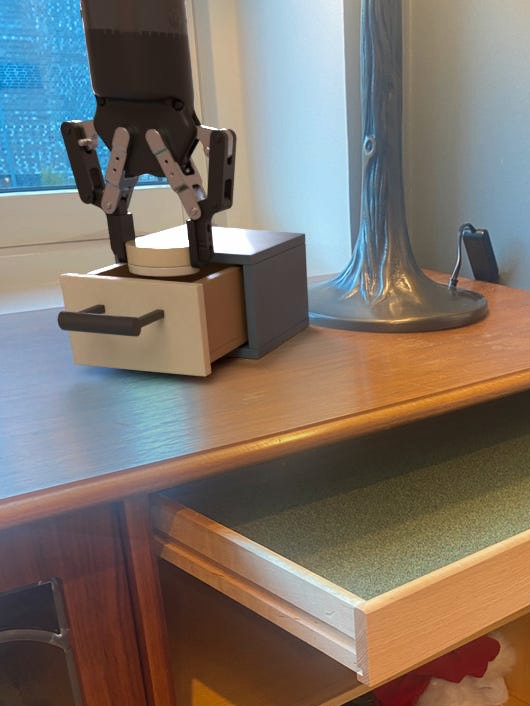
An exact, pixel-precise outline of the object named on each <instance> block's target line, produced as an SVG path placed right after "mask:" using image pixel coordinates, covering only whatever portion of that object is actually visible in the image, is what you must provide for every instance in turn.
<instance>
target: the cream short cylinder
mask: <svg viewBox="0 0 530 706" xmlns="http://www.w3.org/2000/svg"><path fill="white" fill-rule="evenodd" d="M125 247H126V254H127V261H128V268H129V272H131V273H133V274H137V275H143V276H155V277H172V276H185V275H191V274H195V273H198V272H200V270H201V269H200V268H192V266H191V263H190V254H189V245H188V240H187V239H179V238H144V239H135V240H130V241H128V242H126V243H125Z"/></svg>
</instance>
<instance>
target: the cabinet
mask: <svg viewBox="0 0 530 706" xmlns="http://www.w3.org/2000/svg"><path fill="white" fill-rule="evenodd" d="M212 233H213V244H214V245H213V246H214V255H213V259H211V260H209V262H214V263H227V264H240V265H243V274H244V287H245V300H246V314H247V327H248V341H247V342H245V343H243V344H242V345H240V346H238V347H237V348H235V349H233V350H232V351H230V352H228V353H227V354H225V355H223V356H222V357H229V358H239V359H251V360H259V359H261V358H263V357H264V356H265V355H267V354H268V353H270V352H272V351H273V350H274V349H276V348H278V347H279V346H280V345H282V344H283V343H285V342H286V341H288V340H289V339H291V338H294V336H296V335H297V334H299V333H300V332H301V331H303V330H305V329H306V328H308V327H310V312H309V311H310V310H309V292H308V291H309V290H308V288H309V287H308V267H307V266H308V265H307V245H306V233H305V232H304V233H303V232H302V233H301V232H289V231H274V230H264V229H263V230H262V229H250V228H249V229H247V228H236V227H235V228H234V227H220V226H219V227H212ZM135 238H136V239H144V238H179V239H187V240H188V235H187V225H185V224H183V225H179V226H175V227H171V228H169V229H165V230H161V231H157V232H154V233H150V234H146V235H144V236H143V235H142V236H139V237H135ZM113 255H114V254H113ZM114 262H115V264H118V263H120V262H119V261H118V257H117V255H114Z"/></svg>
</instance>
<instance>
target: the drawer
mask: <svg viewBox="0 0 530 706" xmlns="http://www.w3.org/2000/svg"><path fill="white" fill-rule="evenodd" d="M200 269H201V270H200V272H198V273H195V274H191V275H185V276H172V277H155V276H143V275H137V274H133V273H131V272H129V268H128V263H118V264H116V263H115V264H112V265H109V266H106V267H103V268H99V269H95V270H93V271H90V272H86V273H85V274H84V273H74V272H73V273H72V272H67V273H63V274H60V275H59V280H60V286H61V292H62V293H61V294H62V300H63V304H64V310H61V311H59V313H58V315H57V324H58V327H59V329H60V330H62V331H66V332H68V334H69V339H70V341H69V342H70V347H71V353H72V358H73V365H75V366H86V367H95V368H97V367H98V368H107V369H108V368H109V369H119V370H130V371H132V370H133V371H141V372H149V373H150V372H151V373H162V374H172V375H183V376H184V375H185V376H192V377H193V376H195V377H207V376H209V375H210V374H212V367H211V366H212V365H211V364H212V363H214V362H216V361H217V360H219V359H220V358H222V357H224V356H223V355H225V354H227V353H228V352H230V351H232V350H233V349H235V348H237V347H238V346H240V345H242V344H243V343H245V342H247V341H248V327H247V314H246V300H245V287H244V274H243V265H240V264H227V263H214V262H209V264H208V266H206V267H204V268H200Z"/></svg>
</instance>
